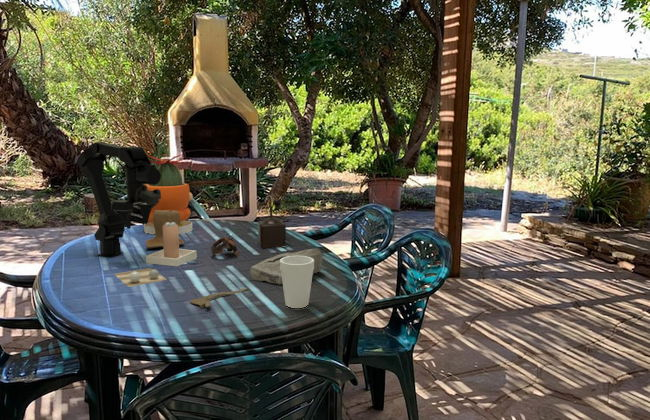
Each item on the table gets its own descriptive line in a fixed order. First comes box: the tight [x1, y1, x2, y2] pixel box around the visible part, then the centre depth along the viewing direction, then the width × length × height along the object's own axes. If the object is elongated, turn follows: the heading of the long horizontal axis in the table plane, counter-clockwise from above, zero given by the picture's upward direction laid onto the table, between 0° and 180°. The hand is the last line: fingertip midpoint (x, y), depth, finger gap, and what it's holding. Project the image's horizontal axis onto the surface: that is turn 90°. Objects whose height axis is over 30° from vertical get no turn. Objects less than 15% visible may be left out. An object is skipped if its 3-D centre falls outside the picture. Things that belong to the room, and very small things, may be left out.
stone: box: [249, 247, 323, 285], centre depth 165 cm, size 18×10×20 cm
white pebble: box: [129, 270, 141, 282], centre depth 156 cm, size 3×3×3 cm
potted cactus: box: [143, 154, 193, 235], centre depth 225 cm, size 22×22×35 cm
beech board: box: [113, 267, 168, 288], centre depth 161 cm, size 16×12×1 cm
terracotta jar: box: [162, 222, 180, 259], centre depth 180 cm, size 5×5×14 cm
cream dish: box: [145, 248, 198, 267], centre depth 181 cm, size 13×13×3 cm
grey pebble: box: [149, 269, 160, 279], centre depth 159 cm, size 3×3×3 cm
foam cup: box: [280, 256, 314, 309], centre depth 138 cm, size 10×9×13 cm
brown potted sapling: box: [257, 198, 287, 249], centre depth 207 cm, size 16×11×18 cm
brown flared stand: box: [145, 210, 185, 249], centre depth 201 cm, size 15×12×15 cm
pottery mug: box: [210, 237, 240, 258], centre depth 189 cm, size 12×10×8 cm
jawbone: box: [189, 287, 250, 310], centre depth 145 cm, size 9×20×2 cm, turn 155°
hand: (137, 226), depth 178 cm, fingers open, 9 cm apart
